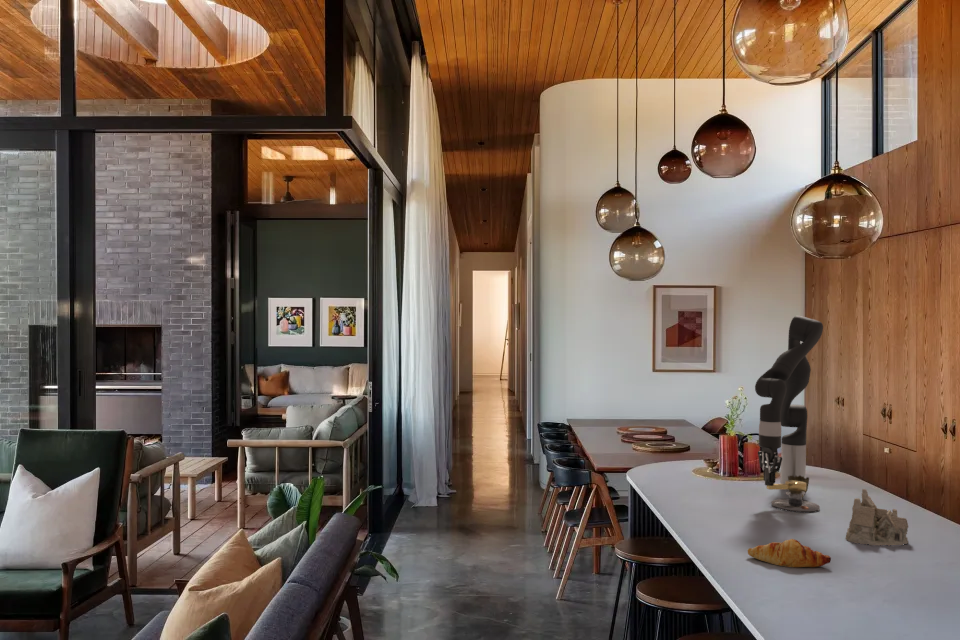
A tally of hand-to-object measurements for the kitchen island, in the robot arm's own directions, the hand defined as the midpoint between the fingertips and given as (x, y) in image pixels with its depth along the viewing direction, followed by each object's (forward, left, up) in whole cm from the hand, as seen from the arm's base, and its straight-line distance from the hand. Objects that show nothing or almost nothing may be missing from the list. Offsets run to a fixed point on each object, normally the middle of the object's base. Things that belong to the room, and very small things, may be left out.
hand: (769, 481), depth 272 cm
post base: (0, +10, -9) cm, 14 cm away
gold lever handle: (0, +6, -3) cm, 7 cm away
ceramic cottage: (+42, +13, -10) cm, 45 cm away
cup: (-14, +19, -9) cm, 25 cm away
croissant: (+61, -26, -10) cm, 67 cm away
